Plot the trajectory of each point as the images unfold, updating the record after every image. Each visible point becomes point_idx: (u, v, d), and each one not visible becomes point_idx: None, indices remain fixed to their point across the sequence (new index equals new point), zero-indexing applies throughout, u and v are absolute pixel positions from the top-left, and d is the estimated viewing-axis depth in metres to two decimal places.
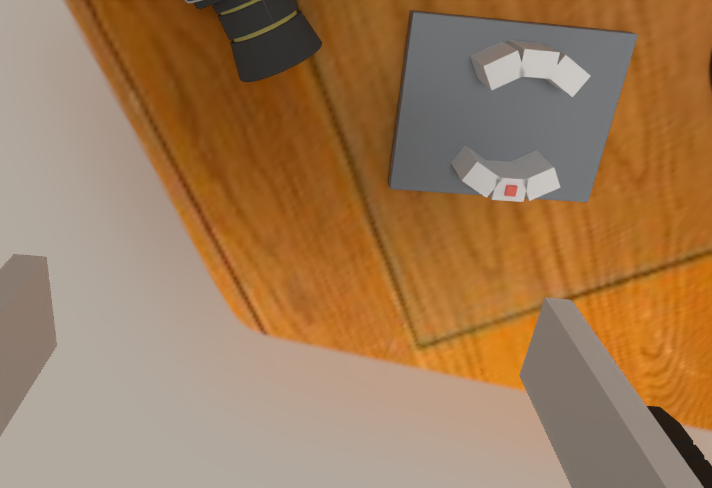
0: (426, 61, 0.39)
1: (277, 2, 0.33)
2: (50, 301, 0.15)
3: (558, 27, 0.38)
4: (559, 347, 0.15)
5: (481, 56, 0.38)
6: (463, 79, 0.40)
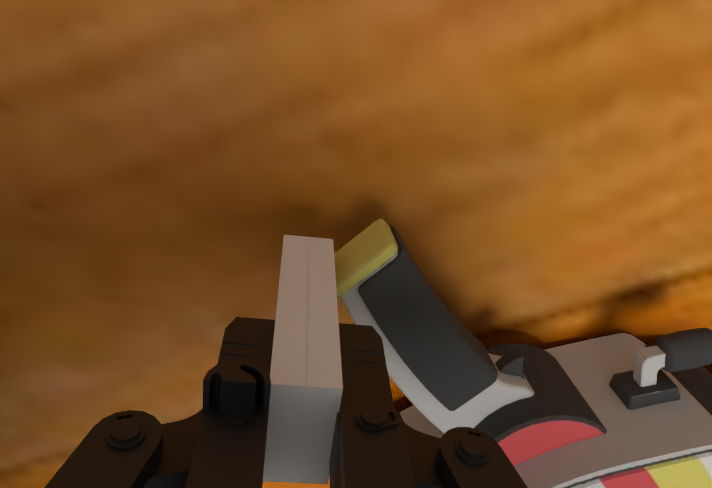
0: None
1: None
2: None
3: None
4: None
5: None
6: None
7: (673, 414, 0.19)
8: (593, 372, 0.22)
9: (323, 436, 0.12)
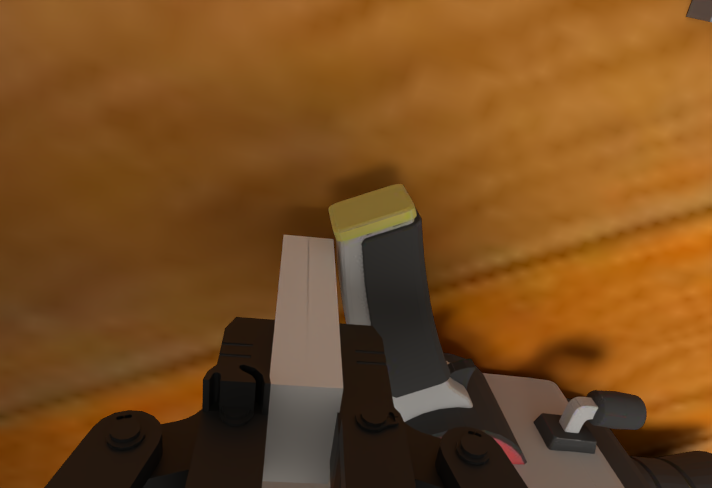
0: None
1: None
2: None
3: None
4: None
5: None
6: None
7: (587, 465, 0.20)
8: (521, 406, 0.22)
9: (323, 436, 0.12)
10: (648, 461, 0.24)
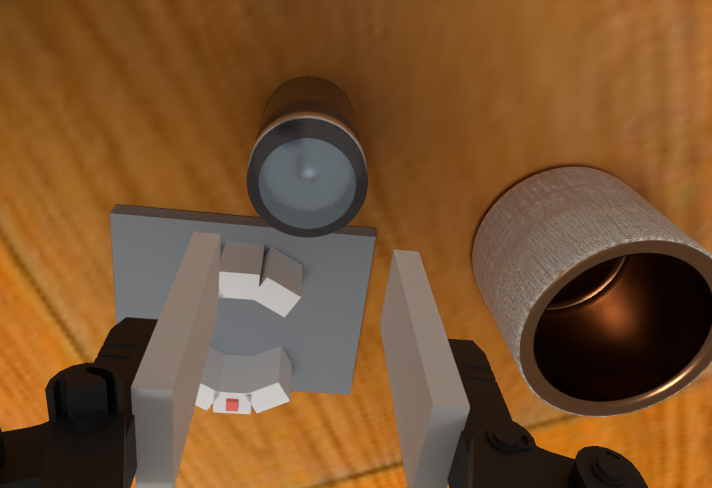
0: (135, 260, 0.34)
1: None
2: (217, 273, 0.17)
3: None
4: (396, 292, 0.16)
5: None
6: None
7: None
8: None
9: (444, 454, 0.12)
10: None
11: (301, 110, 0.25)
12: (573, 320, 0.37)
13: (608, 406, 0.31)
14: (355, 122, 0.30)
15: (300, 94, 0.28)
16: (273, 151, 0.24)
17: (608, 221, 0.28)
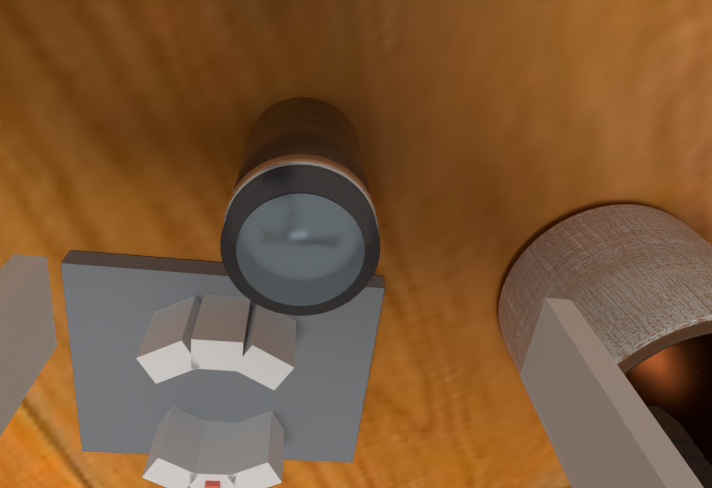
0: (94, 317, 0.28)
1: None
2: (49, 301, 0.15)
3: None
4: (559, 347, 0.15)
5: (157, 324, 0.27)
6: None
7: None
8: None
9: None
10: None
11: (293, 151, 0.19)
12: None
13: None
14: (361, 157, 0.24)
15: (292, 125, 0.22)
16: (255, 210, 0.18)
17: (681, 286, 0.22)
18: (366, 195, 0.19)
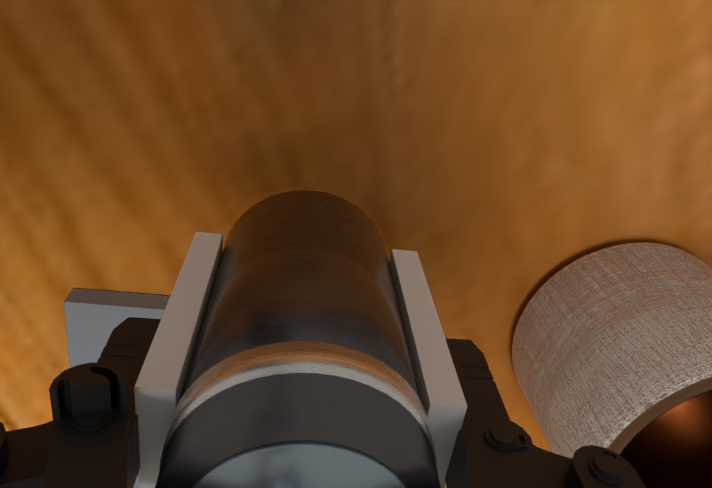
0: (97, 357, 0.28)
1: None
2: None
3: None
4: (395, 291, 0.16)
5: None
6: None
7: None
8: None
9: (442, 453, 0.12)
10: None
11: (287, 329, 0.11)
12: None
13: None
14: (394, 289, 0.16)
15: (287, 256, 0.13)
16: (211, 472, 0.09)
17: (705, 331, 0.21)
18: (418, 416, 0.11)
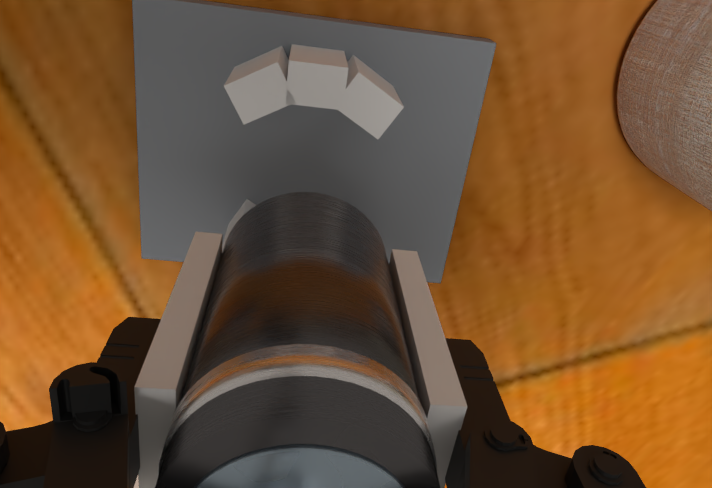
0: (166, 73, 0.25)
1: None
2: None
3: (370, 27, 0.25)
4: (395, 291, 0.16)
5: (241, 68, 0.24)
6: (229, 102, 0.26)
7: None
8: None
9: (442, 453, 0.12)
10: None
11: (287, 332, 0.11)
12: None
13: None
14: (394, 291, 0.16)
15: (287, 257, 0.13)
16: (211, 476, 0.09)
17: None
18: (418, 419, 0.11)
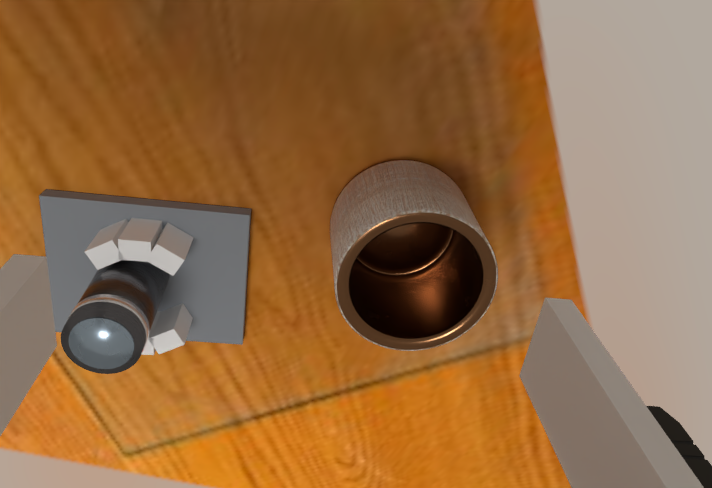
0: (61, 233, 0.44)
1: None
2: (49, 301, 0.15)
3: (175, 208, 0.44)
4: (559, 347, 0.15)
5: (100, 235, 0.43)
6: None
7: None
8: None
9: None
10: None
11: (99, 291, 0.39)
12: (413, 283, 0.47)
13: (415, 342, 0.41)
14: (158, 278, 0.43)
15: (110, 270, 0.41)
16: (74, 327, 0.37)
17: (399, 199, 0.38)
18: (135, 312, 0.38)
